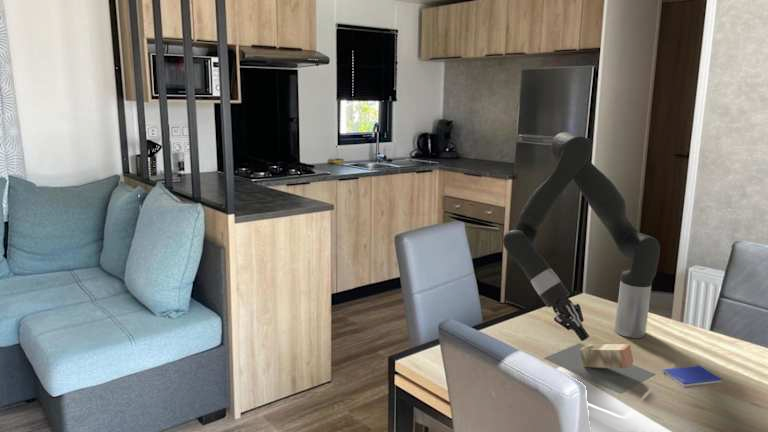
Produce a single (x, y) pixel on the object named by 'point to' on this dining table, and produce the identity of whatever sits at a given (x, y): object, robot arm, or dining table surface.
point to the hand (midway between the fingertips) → (585, 339)
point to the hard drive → (691, 376)
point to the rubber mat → (600, 370)
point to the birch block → (606, 355)
